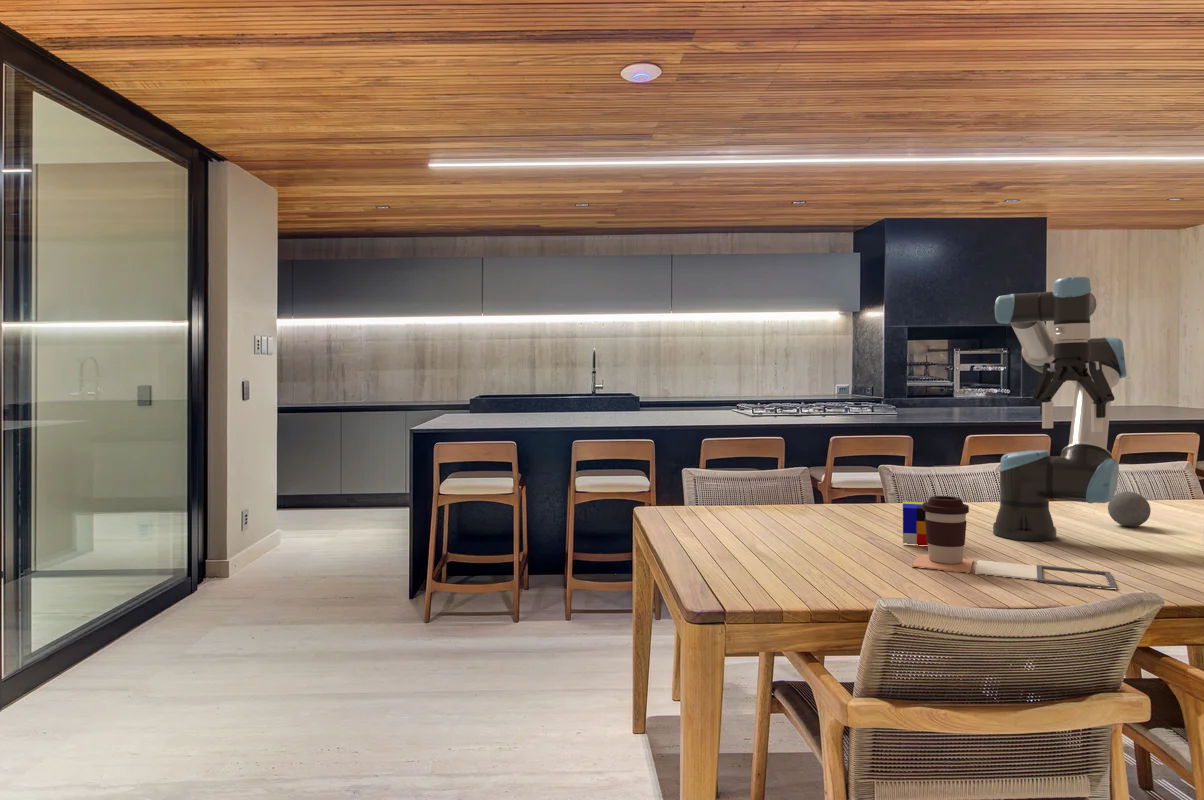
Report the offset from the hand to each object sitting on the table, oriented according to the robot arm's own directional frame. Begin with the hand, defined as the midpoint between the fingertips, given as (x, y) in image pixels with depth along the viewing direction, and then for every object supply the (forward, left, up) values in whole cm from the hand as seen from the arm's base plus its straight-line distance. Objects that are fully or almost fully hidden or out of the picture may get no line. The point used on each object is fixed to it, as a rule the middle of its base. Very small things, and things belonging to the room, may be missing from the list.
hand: (1071, 430), depth 178 cm
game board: (+6, -25, -31) cm, 40 cm away
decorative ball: (-22, +45, -31) cm, 59 cm away
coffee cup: (-4, -33, -30) cm, 45 cm away
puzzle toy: (-24, -23, -31) cm, 45 cm away
